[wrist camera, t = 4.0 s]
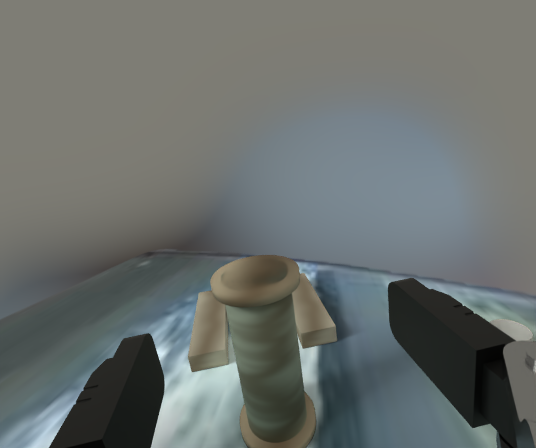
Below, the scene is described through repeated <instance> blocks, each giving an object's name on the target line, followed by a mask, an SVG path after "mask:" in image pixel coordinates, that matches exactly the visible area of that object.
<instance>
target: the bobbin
mask: <svg viewBox="0 0 536 448" xmlns="http://www.w3.org/2000/svg"><path fill="white" fill-rule="evenodd" d="M299 283H300V273H299V267H298V265H297V263H296V262H295V261H293V260H291V259H289V258H287V257H283V256H277V255H259V256H251V257H246V258H242V259H239V260H236V261H233V262H231V263H228V264H226V265H225V266H223V267H221V268H220V269H218V270H217V271H216V272H215V273H214V274H213V276H212V278H211V288H212V293H213V296H214V298H215V299H216V300H217V301H219V302H220V303H222V304H225V306H226V312H227V317H228V322H229V327H230V332H231V337H232V342H233V347H234V352H235V357H236V362H237V367H238V373H239V378H240V383H241V388H242V393H243V398H244V403H245V404H244V405H243V408H242V410H241V414H240V427H241V432H242V436H243V439H244V442H245V443H246V445H247V447H248V448H305V447H306V446H307V445H308V444H309V443H310V441H311V439H312V437H313V435H314V432H315V428H316V416H315V408H314V405H313V402H312V400H311V399H310V397H309V396H308V395H307V394H306V393H305V392H304V385H303V377H302V369H301V361H300V353H299V345H298V337H297V328H296V320H295V312H294V304H293V296H292V293H293V292H294V291H295V290H296V289H297V287H298V286H299Z"/></svg>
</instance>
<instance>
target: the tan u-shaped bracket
mask: <svg viewBox="0 0 536 448" xmlns="http://www.w3.org/2000/svg"><path fill="white" fill-rule="evenodd" d="M292 296H293V304H294V312H295V320H296V328H297V334H298V337H299V340H300V342H301V345H302V348H307V347H312V346H317V345H321V344H326V343H331V342H335V341H337V335H336V326H335V324H334V322H333V321H332V319H331V317H330V316H329V314H328V312H327V311H326V309H325V307H324V306H323V304H322V302H321V300H320V299H319V297H318V295H317V294H316V292H315V290H314V289H313V287H312V285H311V284H310V282H309V280H308V279H307V277H306V275H305V274H304V273H301V274H300V283H299V286H298V287H297V289H296V290H295V291H294V292H293V293H292ZM188 359H189V363H190V367H191V371H192V372H195V371H199V370H204V369H209V368H213V367H218V366H223V365H228V364H229V362H228V317H227V312H226V306H225V304H222V303H220V302H219V301H217V300H216V299H215V298H214V296H213V293H212V291H206V292H201V293H199V296H198V301H197V307H196V313H195V319H194V325H193V331H192V336H191V342H190V348H189V354H188Z"/></svg>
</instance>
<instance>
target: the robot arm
mask: <svg viewBox="0 0 536 448" xmlns="http://www.w3.org/2000/svg"><path fill="white" fill-rule="evenodd" d="M388 301H389V322H390V327H391V330H392V333H393V335H394V337H395V339H396V340H397V342H398V343H399V344H400V345H401V346H402V347H403V349H404V350H405V351H406V352H407V353H408V354H409V355H410V357H411V358H412V359H413V360H414V361H415V362H416V364H417V365H418V366H419V367H420V368H421V369H422V370H423V372H424V373H425V374H426V375H427V376H428V377H429V378H430V380H431V381H432V382H433V383H434V384H435V385H436V387H437V388H438V389H439V390H440V391H441V392H442V393H443V395H444V396H445V397H446V398H447V399H448V400H449V401H450V403H451V404H452V405H453V406H454V407H455V408H456V410H457V411H458V412H459V413H460V414H461V415H462V416H463V418H464V419H465V420H466V421H467V422H468V423H469V425H470V426H471V427H472V428H475V427H479V426H483V425H486V424H491V425H492V426H493V427H494V428H495V429H496V430H497V436H496V442H497V448H536V342H535V341H516V340H514V339H513V338H511V337H510V336H509V335H507V334H506V333H504V332H503V331H501V330H500V329H498V328H497V327H495V326H494V325H492V324H491V323H489V322H488V321H486V320H485V319H483V318H482V317H480V316H479V315H478V314H474V313H473V311H472V310H470V309H469V308H467V307H466V306H463V305H462V304H461V303H460V302H458V301H457V300H455V299H454V298H452V297H451V296H449V295H447V294H444V293H442V292H439V291H436V290H434V289H428V288H427V287H425V286H424V285H423V284H421V283H420V282H418V281H417V280H415V279H414V278H409V279H404V280H399V281H395V282H391V283H389V285H388ZM164 386H165V384H164V374H163V371H162V367H161V364H160V361H159V357H158V354H157V351H156V348H155V344H154V341H153V338H152V336H151V335H150V334H149V333H147V334H143V335H138V336H133V337H129V338H124V339H123V340H122V341H121V343H120V345H119V347H118V349H117V351H116V353H115V355H114V357H113V358H109V359H106V360H105V361H104V362H103V363H102V364H101V365H100V366H99V367H98V368H97V369H96V370H95V371H94V372H93V373H92V375H91V376H90V378H89V380H88V381H87V383H86V385H85V387H84V391H82V392H81V393H80V395H79V397H78V399H77V400H76V404H75V405H74V406H73V407H72V409H71V411H70V412H69V414H68V416H67V418H66V419H65V421H64V423H63V424H62V426H61V428H60V430H59V431H58V433H57V435H56V436H55V438H54V440H53V442H52V443H51V445H50V447H49V448H151V444H152V440H153V436H154V432H155V428H156V424H157V420H158V416H159V411H160V407H161V403H162V399H163V395H164Z"/></svg>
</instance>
